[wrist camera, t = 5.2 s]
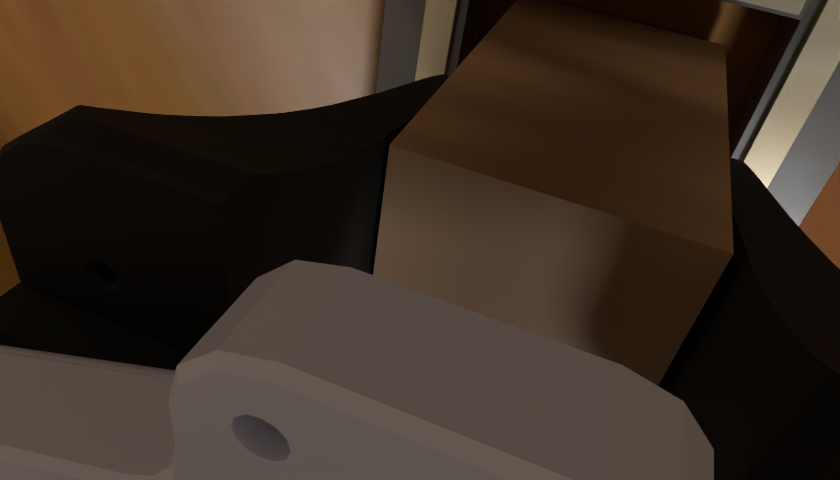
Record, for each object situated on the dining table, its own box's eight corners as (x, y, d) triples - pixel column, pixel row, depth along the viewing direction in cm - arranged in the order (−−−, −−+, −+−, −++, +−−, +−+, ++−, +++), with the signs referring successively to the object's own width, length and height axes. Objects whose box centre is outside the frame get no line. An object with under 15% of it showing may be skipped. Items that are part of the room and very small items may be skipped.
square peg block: (483, 162, 16) (361, 365, 10) (522, -7, 13) (389, 144, 8) (649, 214, 15) (613, 464, 9) (725, 45, 12) (733, 254, 7)
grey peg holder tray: (354, 428, 24) (334, 464, 23) (438, -223, 12) (405, -223, 11) (590, 525, 23) (583, 570, 21) (974, -119, 10) (1011, -104, 9)
